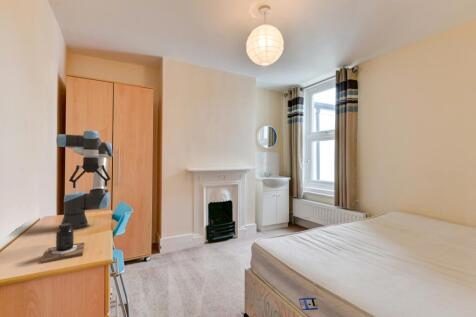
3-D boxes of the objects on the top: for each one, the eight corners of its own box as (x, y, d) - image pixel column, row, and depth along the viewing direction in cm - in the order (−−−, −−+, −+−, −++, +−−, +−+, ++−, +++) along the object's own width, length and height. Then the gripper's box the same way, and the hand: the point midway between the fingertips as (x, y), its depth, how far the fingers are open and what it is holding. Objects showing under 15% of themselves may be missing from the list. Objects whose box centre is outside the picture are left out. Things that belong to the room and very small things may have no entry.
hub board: (48, 250, 111) (48, 246, 111) (84, 244, 119) (84, 240, 119) (41, 263, 98) (41, 258, 98) (82, 255, 106) (82, 251, 106)
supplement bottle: (53, 249, 108) (54, 224, 108) (70, 245, 113) (70, 221, 114) (58, 253, 104) (58, 227, 104) (75, 248, 109) (75, 224, 109)
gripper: (63, 156, 121) (62, 195, 121) (115, 157, 134) (114, 192, 134) (65, 156, 127) (64, 193, 127) (114, 157, 140) (114, 190, 140)
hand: (90, 192), depth 131 cm, fingers open, 13 cm apart
